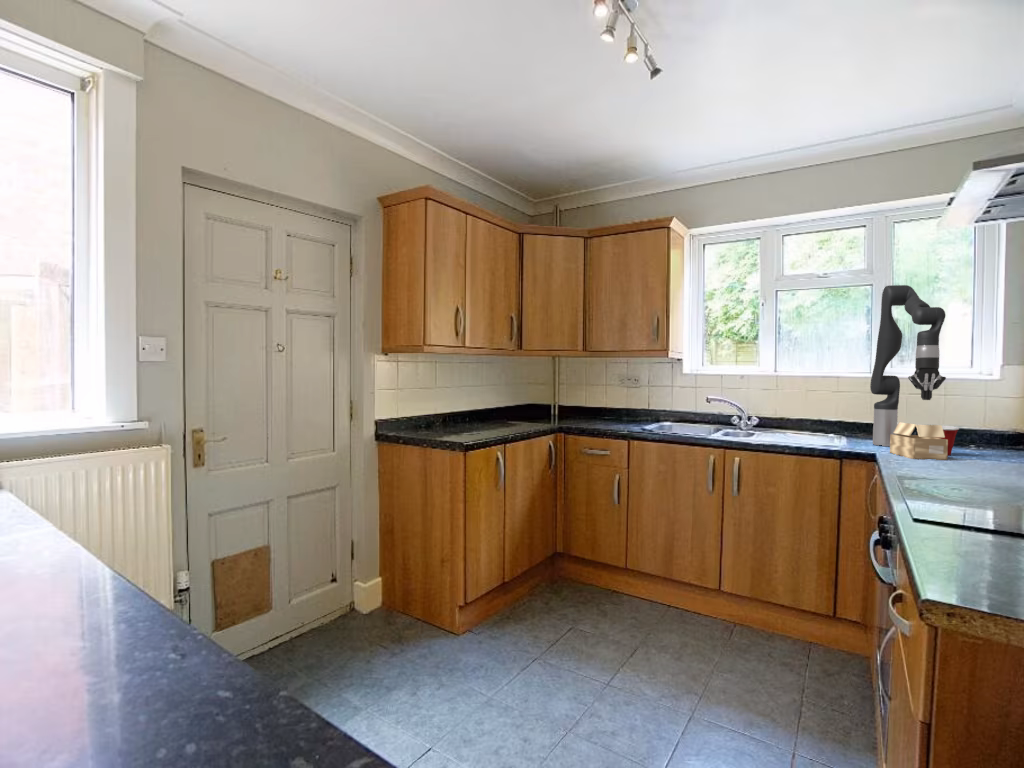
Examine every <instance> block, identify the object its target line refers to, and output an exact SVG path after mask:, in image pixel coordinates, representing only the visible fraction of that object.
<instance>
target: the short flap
mask: <svg viewBox="0 0 1024 768" xmlns="http://www.w3.org/2000/svg"><path fill="white" fill-rule="evenodd" d="M942 425H943V424H916V427H915V428H916V431H917V435H918V436H919V437H937V438H945V436H944V432H943V428H942Z"/></svg>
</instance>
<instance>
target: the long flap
mask: <svg viewBox="0 0 1024 768" xmlns="http://www.w3.org/2000/svg"><path fill="white" fill-rule="evenodd" d="M916 425H917V424H916V423H915V424H914V423H907V422H900V421H899V422H897V427H896V429H895V431H894V432H893V433H895V434H897V435H907V436H911V435H913V434H912V433H913V432H914V431H915V428H916Z"/></svg>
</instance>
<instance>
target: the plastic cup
mask: <svg viewBox="0 0 1024 768" xmlns="http://www.w3.org/2000/svg"><path fill="white" fill-rule="evenodd" d="M941 425H942V428H943V432H944V436H945V438H941V439H947V440H948V452H947V457H948V456H951V455H952V451H953V447H954V444H955V441H956V436H957V433H958V431H959V430H960V427H958V426H952V425H943V424H941ZM935 438H937V437H935Z"/></svg>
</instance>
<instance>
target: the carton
mask: <svg viewBox="0 0 1024 768" xmlns="http://www.w3.org/2000/svg"><path fill="white" fill-rule="evenodd" d="M947 452H948V440H947V439H941V438H935V437H919V436H918V434H911V436H907V435H901V434H897V435H893V434H890V446H889V454H890V453H893V454H892V455H894V454H896V455H895V456H898V455H900V456H899V457H903V456H904V457H903V458H907V459H911V460H925V459H936V460H935V461H948V456H947Z"/></svg>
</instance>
